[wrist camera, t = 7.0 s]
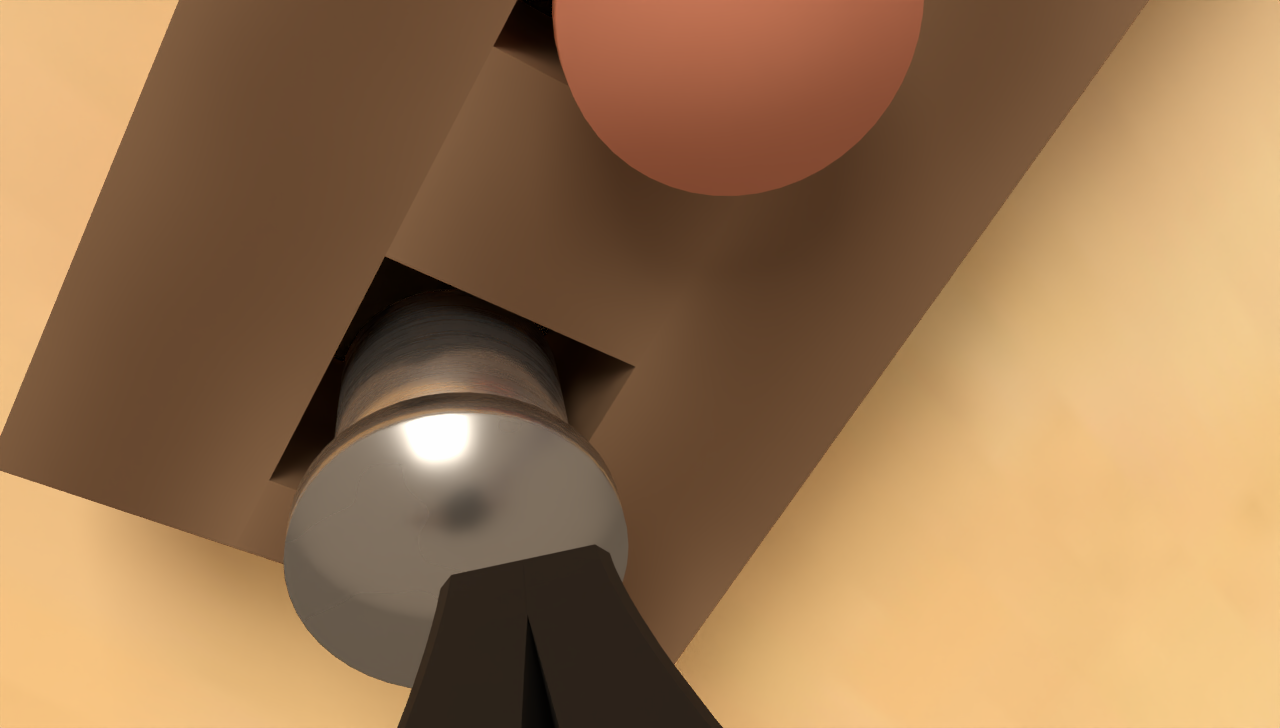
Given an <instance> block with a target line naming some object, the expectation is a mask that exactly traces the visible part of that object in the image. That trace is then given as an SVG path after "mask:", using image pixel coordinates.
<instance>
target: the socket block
mask: <svg viewBox="0 0 1280 728" xmlns="http://www.w3.org/2000/svg"><path fill="white" fill-rule="evenodd" d="M1148 1H1149V0H924V7H923V17H922V22H921V28H920V34H919V38H918V42H917V45H916V48H915V52H914V55H913V58H912V61H911V64H910V66H909V68H908V71H907V73H906V75H905V78H904V80H903V82H902V84H901V86H900V88H899V89H898V91H897V93H896V95H895V96H894V98H893V100H892V101H891V103H890V105H889V106H888V107H887V109H886V110H885V111H884V113H883V114H882V116H881V117H880V118H879V120H878V121H877V122H876V124H875V125H874V126H873V127H872V128H871V129H870V130H869V131H868V132H867V133H866V134H865V135H864V137H863V138H862V139H861V140H860V141H859V142H858V143H856V144H855V145H854V146H853V147H852V148H851V149H849V150H848V151H847V152H846V153H845V154H844V155H842V156H841V157H840V158H838V159H837V160H835V161H834V162H832V163H831V164H829V165H828V166H826V167H825V168H823V169H822V170H820V171H818V172H816V173H814V174H812V175H810V176H808V177H806V178H804V179H802V180H800V181H797V182H795V183H792V184H789V185H787V186H784V187H782V188H778V189H774V190H770V191H766V192H762V193H757V194H748V195H740V196H712V195H705V194H698V193H691V192H688V191H684V190H680V189H677V188H673V187H670V186H668V185H665V184H663V183H661V182H658V181H656V180H654V179H651V178H649V177H647V176H646V175H644V174H642V173H641V172H639V171H637V170H636V169H634V168H632V167H631V166H630V165H628V164H627V163H626V162H625V161H623V160H622V159H621V158H620V157H618V156H617V155H616V154H615V153H613V152H612V151H611V150H610V148H609V147H608V146H607V145H606V144H605V143H604V142H603V141H602V140H601V139H600V138H599V137H598V136H597V134H596V133H595V132H594V130H593V129H592V127H591V126H590V125H589V123H588V122H587V120H586V119H585V118H584V116H583V114H582V112H581V110H580V108H579V106H578V105H577V103H576V101H575V99H574V97H573V95H572V92H571V90H570V87H569V85H568V82H567V80H566V77H565V74H564V71H563V69H562V66H561V63H560V60H559V56H558V52H557V47H556V43H555V38H554V28H553V18H551V17H549V16H547V15H546V14H544V13H542V12H540V11H538V10H536V9H535V8H533V7H531V6H529V5H527V4H525V3H524V2H522V1H520V0H179V2H178V4H177V7H176V9H175V12H174V14H173V16H172V19H171V21H170V24H169V26H168V29H167V31H166V34H165V36H164V38H163V41H162V43H161V46H160V48H159V51H158V53H157V56H156V58H155V60H154V63H153V65H152V68H151V70H150V73H149V75H148V77H147V80H146V82H145V85H144V87H143V90H142V92H141V95H140V97H139V99H138V102H137V104H136V107H135V109H134V112H133V114H132V117H131V119H130V121H129V124H128V126H127V129H126V131H125V134H124V136H123V138H122V141H121V143H120V146H119V148H118V151H117V153H116V156H115V158H114V160H113V163H112V165H111V168H110V170H109V173H108V175H107V178H106V180H105V182H104V185H103V187H102V190H101V192H100V195H99V197H98V199H97V202H96V204H95V207H94V209H93V212H92V214H91V217H90V219H89V221H88V224H87V226H86V229H85V231H84V234H83V236H82V239H81V241H80V243H79V246H78V248H77V251H76V253H75V256H74V258H73V260H72V263H71V265H70V268H69V270H68V273H67V275H66V278H65V280H64V282H63V285H62V287H61V290H60V292H59V295H58V297H57V300H56V302H55V304H54V307H53V309H52V312H51V314H50V317H49V319H48V321H47V324H46V326H45V329H44V331H43V334H42V336H41V339H40V341H39V343H38V346H37V348H36V351H35V353H34V356H33V358H32V361H31V363H30V365H29V368H28V370H27V373H26V375H25V378H24V380H23V382H22V385H21V387H20V390H19V392H18V395H17V397H16V400H15V402H14V404H13V407H12V409H11V412H10V414H9V417H8V419H7V422H6V424H5V426H4V429H3V431H2V434H1V436H0V471H3V472H6V473H9V474H12V475H15V476H18V477H21V478H24V479H27V480H30V481H33V482H37V483H40V484H43V485H46V486H49V487H52V488H55V489H58V490H61V491H64V492H67V493H70V494H73V495H76V496H79V497H82V498H85V499H88V500H91V501H94V502H97V503H100V504H103V505H106V506H109V507H112V508H115V509H118V510H121V511H124V512H127V513H130V514H133V515H136V516H139V517H143V518H146V519H149V520H152V521H155V522H158V523H161V524H164V525H167V526H170V527H173V528H176V529H179V530H182V531H185V532H188V533H191V534H194V535H197V536H200V537H203V538H206V539H209V540H212V541H215V542H218V543H221V544H224V545H227V546H230V547H233V548H236V549H239V550H242V551H246V552H249V553H252V554H255V555H258V556H261V557H264V558H267V559H270V560H273V561H276V562H279V563H282V564H284V562H283V559H284V548H285V539H286V532H287V526H288V519H289V514H290V510H291V506H292V502H293V498H294V495H295V493H296V491H297V488H298V486H299V484H300V481H301V479H302V477H303V476H304V474H305V473H306V471H307V469H308V468H309V466H310V465H311V463H312V462H313V461H314V459H315V458H316V457H317V456H318V455H319V453H320V452H321V451H322V450H323V449H324V448H325V446H327V445H328V444H329V443H330V442H331V441H332V440H333V439H334V438H335V431H336V422H337V412H338V403H339V394H340V385H341V375H342V368H343V365H344V362H343V361H340V360H338V359H335V358H333V356H334V354H335V352H336V350H337V348H338V346H339V344H340V342H341V340H342V338H343V337H344V335H345V333H346V331H347V329H348V327H349V325H350V323H351V321H352V319H353V317H354V315H355V313H356V311H357V309H358V307H359V306H360V304H361V302H362V300H363V298H364V296H365V294H366V292H367V290H368V288H369V286H370V284H371V282H372V280H373V278H374V276H375V275H376V273H377V271H378V269H379V267H380V265H381V263H382V261H383V259H384V257H385V256H386V257H388V258H390V259H392V260H395V261H397V262H399V263H401V264H404V265H406V266H408V267H411V268H413V269H415V270H417V271H420V272H422V273H424V274H426V275H429V276H431V277H433V278H435V279H438V280H440V281H442V282H445V283H447V284H449V285H451V286H454V287H456V288H458V289H460V290H463V291H465V292H467V293H470V294H472V295H474V296H476V297H479V298H481V299H483V300H485V301H488V302H490V303H492V304H494V305H497V306H499V307H501V308H504V309H506V310H508V311H510V312H513V313H515V314H517V315H519V316H522V317H524V318H526V319H529V320H531V321H533V322H535V323H538V324H540V325H542V326H544V327H547V328H549V329H550V330H549V331H548V333H547V335H546V336H545V339H546V340H547V342H548V344H549V346H550V348H551V351H552V353H553V356H554V360H555V363H556V367H557V372H558V377H559V382H560V386H561V391H562V396H563V400H564V405H565V410H566V414H567V419H568V424H569V425H571V426H572V427H573V428H574V429H576V430H577V431H578V432H579V433H580V434H581V435H582V436H584V437H585V438H586V439H587V440H588V441H589V442H590V444H591V445H592V446H593V447H594V448H595V449H596V451H597V452H598V453H599V454H600V456H601V457H602V459H603V460H604V462H605V464H606V465H607V467H608V468H609V470H610V472H611V475H612V477H613V480H614V482H615V484H616V487H617V491H618V495H619V498H620V502H621V506H622V510H623V514H624V518H625V522H626V526H627V534H628V559H627V566H626V570H625V575H624V579H623V582H622V583H623V585H624V587H625V589H626V590H627V592H628V594H629V596H630V598H631V599H632V601H633V603H634V605H635V606H636V608H637V610H638V611H639V613H640V615H641V616H642V618H643V619H644V621H645V622H646V624H647V626H648V627H649V629H650V630H651V632H652V633H653V635H654V636H655V638H656V639H657V641H658V643H659V644H660V645H661V647H662V648H663V650H664V651H665V653H666V654H667V655H668V657H669V658H670V660H671V661H672V663H673V664H675V662H676V661H677V660H678V658H679V657H680V655H681V654H682V653H683V651H684V650H685V648H686V647H687V646H688V644H689V643H690V641H691V640H692V639H693V637H694V636H695V634H696V633H697V632H698V630H699V629H700V627H701V626H702V625H703V623H704V622H705V620H706V619H707V618H708V616H709V615H710V613H711V612H712V611H713V609H714V608H715V606H716V605H717V604H718V602H719V601H720V599H721V598H722V597H723V595H724V594H725V592H726V591H727V590H728V588H729V587H730V585H731V584H732V583H733V581H734V580H735V578H736V577H737V576H738V574H739V573H740V571H741V570H742V569H743V567H744V566H745V564H746V563H747V562H748V560H749V559H750V557H751V556H752V555H753V553H754V552H755V550H756V549H757V548H758V546H759V545H760V543H761V542H762V541H763V539H764V538H765V536H766V535H767V534H768V532H769V531H770V529H771V528H772V527H773V525H774V524H775V523H776V521H777V520H778V518H779V517H780V516H781V514H782V513H783V511H784V510H785V509H786V507H787V506H788V504H789V503H790V502H791V500H792V499H793V497H794V496H795V495H796V493H797V492H798V490H799V489H800V488H801V486H802V485H803V483H804V482H805V481H806V479H807V478H808V476H809V475H810V474H811V472H812V471H813V469H814V468H815V467H816V465H817V464H818V462H819V461H820V460H821V458H822V457H823V455H824V454H825V453H826V451H827V450H828V448H829V447H830V446H831V444H832V443H833V441H834V440H835V439H836V437H837V436H838V434H839V433H840V432H841V430H842V429H843V427H844V426H845V425H846V423H847V422H848V420H849V419H850V418H851V416H852V415H853V413H854V412H855V411H856V409H857V408H858V406H859V405H860V404H861V402H862V401H863V399H864V398H865V397H866V395H867V394H868V392H869V391H870V390H871V388H872V387H873V385H874V384H875V383H876V381H877V380H878V378H879V377H880V376H881V374H882V373H883V371H884V370H885V369H886V367H887V366H888V364H889V363H890V362H891V360H892V359H893V357H894V356H895V355H896V353H897V352H898V350H899V349H900V348H901V346H902V345H903V343H904V342H905V341H906V339H907V338H908V336H909V335H910V334H911V332H912V331H913V329H914V328H915V327H916V325H917V324H918V322H919V321H920V320H921V318H922V317H923V315H924V314H925V313H926V311H927V310H928V308H929V307H930V306H931V304H932V303H933V301H934V300H935V299H936V297H937V296H938V294H939V293H940V292H941V290H942V289H943V287H944V286H945V285H946V283H947V282H948V280H949V279H950V278H951V276H952V275H953V273H954V272H955V271H956V269H957V268H958V266H959V265H960V264H961V262H962V261H963V259H964V258H965V257H966V255H967V254H968V252H969V251H970V250H971V248H972V247H973V245H974V244H975V243H976V241H977V240H978V238H979V237H980V236H981V234H982V233H983V231H984V230H985V229H986V227H987V226H988V224H989V223H990V222H991V220H992V219H993V217H994V216H995V215H996V213H997V212H998V211H999V209H1000V208H1001V206H1002V205H1003V204H1004V202H1005V201H1006V199H1007V198H1008V197H1009V195H1010V194H1011V192H1012V191H1013V190H1014V188H1015V187H1016V185H1017V184H1018V183H1019V181H1020V180H1021V178H1022V177H1023V176H1024V174H1025V173H1026V171H1027V170H1028V169H1029V167H1030V166H1031V164H1032V163H1033V162H1034V160H1035V159H1036V157H1037V156H1038V155H1039V153H1040V152H1041V150H1042V149H1043V148H1044V146H1045V145H1046V143H1047V142H1048V141H1049V139H1050V138H1051V136H1052V135H1053V134H1054V132H1055V131H1056V129H1057V128H1058V127H1059V125H1060V124H1061V122H1062V121H1063V120H1064V118H1065V117H1066V115H1067V114H1068V113H1069V111H1070V110H1071V108H1072V107H1073V106H1074V104H1075V103H1076V101H1077V100H1078V99H1079V97H1080V96H1081V94H1082V93H1083V92H1084V90H1085V89H1086V87H1087V86H1088V85H1089V83H1090V82H1091V80H1092V79H1093V78H1094V76H1095V75H1096V73H1097V72H1098V71H1099V69H1100V68H1101V66H1102V65H1103V64H1104V62H1105V61H1106V59H1107V58H1108V57H1109V55H1110V54H1111V52H1112V51H1113V50H1114V48H1115V47H1116V45H1117V44H1118V43H1119V41H1120V40H1121V38H1122V37H1123V36H1124V34H1125V33H1126V31H1127V30H1128V29H1129V27H1130V26H1131V24H1132V23H1133V22H1134V20H1135V19H1136V17H1137V16H1138V15H1139V13H1140V12H1141V10H1142V9H1143V8H1144V6H1145V5H1146V3H1147V2H1148Z"/></svg>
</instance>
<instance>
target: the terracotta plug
mask: <svg viewBox="0 0 1280 728" xmlns="http://www.w3.org/2000/svg"><path fill="white" fill-rule="evenodd" d="M923 7H924V0H553V2H552V18H553V28H554V38H555V43H556V47H557V52H558V56H559V60H560V63H561V66H562V69H563V71H564V74H565V77H566V80H567V82H568V85H569V87H570V90H571V92H572V95H573V97H574V99H575V101H576V103H577V105H578V106H579V108H580V110H581V112H582V114H583V116H584V118H585V119H586V120H587V122H588V123H589V125H590V126H591V127H592V129H593V130H594V132H595V133H596V134H597V136H598V137H599V138H600V139H601V140H602V141H603V142H604V143H605V144H606V145H607V146H608V147H609V148H610V150H611V151H612V152H613V153H615V154H616V155H617V156H618V157H620V158H621V159H622V160H623V161H625V162H626V163H627V164H628V165H630V166H631V167H632V168H634V169H636V170H637V171H639V172H641V173H642V174H644V175H646V176H647V177H649V178H651V179H654V180H656V181H658V182H661V183H663V184H665V185H668V186H670V187H673V188H677V189H680V190H684V191H688V192H691V193H698V194H705V195H712V196H740V195H748V194H757V193H762V192H766V191H770V190H774V189H778V188H782V187H784V186H787V185H789V184H792V183H795V182H797V181H800V180H802V179H804V178H806V177H808V176H810V175H812V174H814V173H816V172H818V171H820V170H822V169H823V168H825V167H826V166H828V165H829V164H831V163H832V162H834V161H835V160H837V159H838V158H840V157H841V156H842V155H844V154H845V153H846V152H847V151H848V150H849V149H851V148H852V147H853V146H854V145H855V144H856V143H858V142H859V141H860V140H861V139H862V138H863V137H864V135H865V134H866V133H867V132H868V131H869V130H870V129H871V128H872V127H873V126H874V125H875V124H876V122H877V121H878V120H879V118H880V117H881V116H882V114H883V113H884V111H885V110H886V109H887V107H888V106H889V105H890V103H891V101H892V100H893V98H894V96H895V95H896V93H897V91H898V89H899V88H900V86H901V84H902V82H903V80H904V78H905V75H906V73H907V71H908V68H909V66H910V64H911V61H912V58H913V55H914V52H915V48H916V45H917V42H918V38H919V34H920V28H921V22H922V17H923Z"/></svg>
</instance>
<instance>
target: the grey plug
mask: <svg viewBox="0 0 1280 728" xmlns="http://www.w3.org/2000/svg"><path fill="white" fill-rule="evenodd" d="M594 544H595V545H597V546H599V547H601V548H602V549H604V550H606V551H607V552H609V553H610V555H611V558H612V561H613V563H614V566H615V568H616V570H617V572H618V575H619V577H620V579H621V581H622V582H623V579H624V575H625V570H626V566H627V559H628V534H627V526H626V522H625V518H624V514H623V510H622V506H621V502H620V498H619V495H618V491H617V487H616V484H615V482H614V480H613V477H612V475H611V472H610V470H609V468H608V467H607V465H606V464H605V462H604V460H603V459H602V457H601V456H600V454H599V453H598V452H597V451H596V449H595V448H594V447H593V446H592V445H591V444H590V442H589V441H588V440H587V439H586V438H585V437H584V436H582V435H581V434H580V433H579V432H578V431H577V430H576V429H574V428H573V427H572V426H571V425H569V424H568V419H567V414H566V410H565V405H564V400H563V396H562V391H561V386H560V382H559V377H558V372H557V367H556V363H555V360H554V356H553V353H552V351H551V348H550V346H549V344H548V342H547V340H546V339H545V337H544V336H543V334H542V332H541V331H540V330H539V329H538V328H537V326H536V325H535V324H534V323H533V322H532V321H531V320H529V319H526V318H524V317H522V316H519V315H517V314H515V313H513V312H510V311H508V310H506V309H504V308H501V307H499V306H497V305H494V304H492V303H490V302H488V301H485V300H483V299H481V298H479V297H476V296H474V295H472V294H470V293H467V292H465V291H463V290H458V289H449V290H435V291H428V292H424V293H420V294H415V295H412V296H410V297H407V298H404V299H402V300H400V301H398V302H396V303H394V304H392V305H390V306H388V307H387V308H385V309H384V310H382V311H381V312H379V313H378V314H377V315H375V316H374V317H373V318H372V319H371V320H370V321H369V322H368V323H367V324H366V325H365V326H364V327H363V328H362V329H361V331H360V332H359V333H358V334H357V336H356V337H355V339H354V341H353V342H352V344H351V346H350V348H349V350H348V353H347V355H346V357H345V361H344V365H343V368H342V375H341V385H340V394H339V403H338V412H337V422H336V431H335V438H334V439H333V440H332V441H331V442H330V443H329V444H328V445H327V446H325V448H324V449H323V450H322V451H321V452H320V453H319V455H318V456H317V457H316V458H315V459H314V461H313V462H312V463H311V465H310V466H309V468H308V469H307V471H306V473H305V474H304V476H303V477H302V479H301V481H300V484H299V486H298V488H297V491H296V493H295V495H294V498H293V502H292V506H291V510H290V514H289V519H288V526H287V532H286V539H285V548H284V559H283V562H284V574H285V581H286V585H287V589H288V593H289V597H290V599H291V601H292V603H293V606H294V608H295V610H296V613H297V614H298V616H299V617H300V619H301V621H302V622H303V624H304V625H305V627H306V628H307V630H308V631H309V632H310V633H311V634H312V635H313V637H314V638H315V639H316V640H317V641H318V642H319V643H320V644H321V645H322V646H323V647H324V648H325V649H327V650H328V651H329V652H330V653H331V654H332V655H334V656H335V657H337V658H338V659H340V660H341V661H343V662H344V663H346V664H347V665H349V666H350V667H352V668H354V669H356V670H358V671H360V672H362V673H364V674H366V675H368V676H371V677H374V678H376V679H379V680H382V681H385V682H387V683H391V684H395V685H400V686H404V687H408V688H412V687H413V684H414V681H415V678H416V675H417V672H418V669H419V666H420V663H421V660H422V657H423V654H424V650H425V647H426V644H427V641H428V637H429V634H430V630H431V626H432V623H433V619H434V615H435V611H436V607H437V602H438V597H439V593H440V588H441V587H442V586H443V585H444V583H445V582H446V581H447V579H448V578H449V577H450V576H451V575H453V574H458V573H462V572H467V571H472V570H476V569H481V568H486V567H490V566H495V565H500V564H505V563H509V562H514V561H519V560H523V559H528V558H533V557H538V556H542V555H547V554H552V553H556V552H561V551H566V550H570V549H575V548H580V547H585V546H589V545H594Z"/></svg>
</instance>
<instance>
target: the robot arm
mask: <svg viewBox="0 0 1280 728" xmlns="http://www.w3.org/2000/svg"><path fill="white" fill-rule="evenodd" d="M397 728H723V727H722V726H721V725H720V724H719V723H718V721H717V720H716V719H715V718H714V716H713V715H712V714H711V713H710V711H709V710H708V709H707V707H706V706H705V705H704V703H703V702H702V701H701V699H700V698H699V697H698V696H697V694H696V693H695V692H694V690H693V689H692V688H691V686H690V685H689V684H688V683H687V681H686V680H685V679H684V677H683V676H682V675H681V673H680V672H679V671H678V669H677V668H676V667H675V665H674V664H673V663H672V661H671V660H670V658H669V657H668V655H667V654H666V653H665V651H664V650H663V648H662V647H661V645H660V644H659V643H658V641H657V639H656V638H655V636H654V635H653V633H652V632H651V630H650V629H649V627H648V626H647V624H646V622H645V621H644V619H643V618H642V616H641V615H640V613H639V611H638V610H637V608H636V606H635V605H634V603H633V601H632V599H631V598H630V596H629V594H628V592H627V590H626V589H625V587H624V585H623V583H622V581H621V579H620V577H619V575H618V572H617V570H616V568H615V566H614V563H613V561H612V558H611V555H610V553H609V552H607V551H606V550H604V549H602V548H601V547H599V546H597V545H595V544H594V545H589V546H585V547H580V548H575V549H570V550H566V551H561V552H556V553H552V554H547V555H542V556H538V557H533V558H528V559H523V560H519V561H514V562H509V563H505V564H500V565H495V566H490V567H486V568H481V569H476V570H472V571H467V572H462V573H458V574H453V575H451V576H450V577H449V578H448V579H447V581H446V582H445V583H444V585H443V586H442V587H441V588H440V593H439V597H438V602H437V607H436V611H435V615H434V619H433V623H432V626H431V630H430V634H429V637H428V641H427V644H426V647H425V650H424V654H423V657H422V660H421V663H420V666H419V669H418V672H417V675H416V678H415V681H414V684H413V687H412V690H411V693H410V696H409V699H408V701H407V704H406V707H405V709H404V712H403V714H402V717H401V720H400V722H399V725H398V727H397Z"/></svg>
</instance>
